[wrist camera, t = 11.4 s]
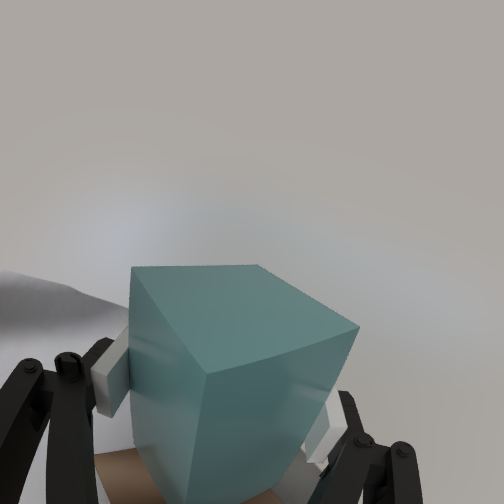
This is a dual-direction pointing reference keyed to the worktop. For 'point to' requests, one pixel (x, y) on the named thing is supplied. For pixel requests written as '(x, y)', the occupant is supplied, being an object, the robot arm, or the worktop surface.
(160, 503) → the brown square base plate
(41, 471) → the worktop surface
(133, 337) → the tall teal pillar
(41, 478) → the worktop surface
